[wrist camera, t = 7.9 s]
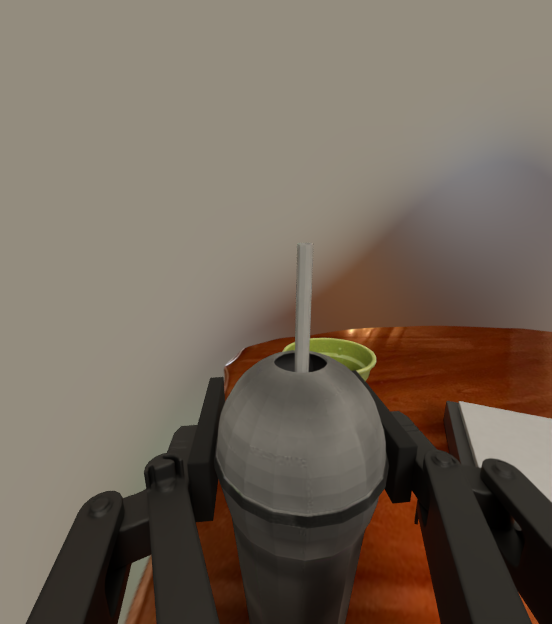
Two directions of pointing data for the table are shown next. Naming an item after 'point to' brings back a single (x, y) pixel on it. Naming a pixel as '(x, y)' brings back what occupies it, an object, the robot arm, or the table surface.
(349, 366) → the plant pot
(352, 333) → the table surface
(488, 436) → the scale
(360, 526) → the beverage cup
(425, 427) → the table surface
